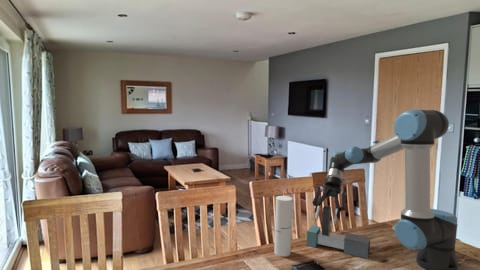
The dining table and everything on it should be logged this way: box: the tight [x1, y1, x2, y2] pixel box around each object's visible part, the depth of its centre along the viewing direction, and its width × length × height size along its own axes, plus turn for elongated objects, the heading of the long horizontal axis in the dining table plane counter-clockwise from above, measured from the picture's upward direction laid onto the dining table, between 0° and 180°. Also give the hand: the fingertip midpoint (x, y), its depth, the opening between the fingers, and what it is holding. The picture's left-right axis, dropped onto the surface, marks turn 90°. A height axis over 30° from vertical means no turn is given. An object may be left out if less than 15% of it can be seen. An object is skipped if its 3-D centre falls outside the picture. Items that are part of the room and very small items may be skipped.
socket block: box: [306, 224, 322, 248], centre depth 153 cm, size 4×8×7 cm, turn 152°
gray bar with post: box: [316, 205, 346, 251], centre depth 149 cm, size 18×5×17 cm, turn 62°
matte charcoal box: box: [343, 232, 371, 260], centre depth 144 cm, size 10×7×7 cm
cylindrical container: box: [274, 195, 293, 258], centre depth 142 cm, size 7×7×25 cm
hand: (325, 220), depth 149 cm, fingers open, 8 cm apart
